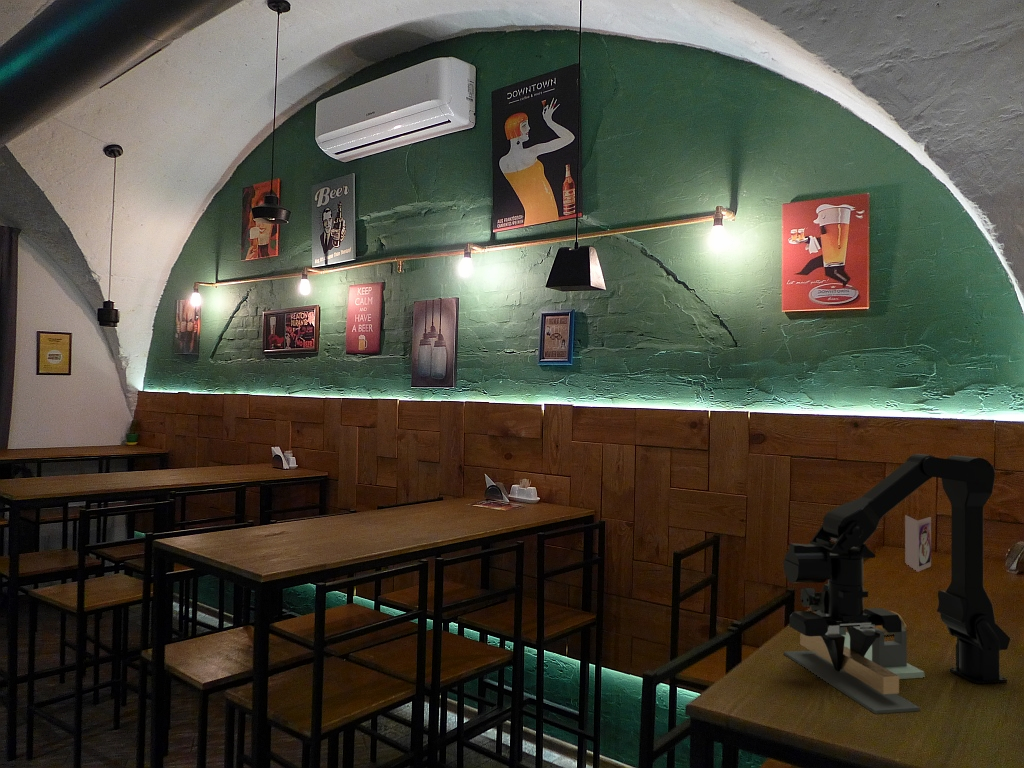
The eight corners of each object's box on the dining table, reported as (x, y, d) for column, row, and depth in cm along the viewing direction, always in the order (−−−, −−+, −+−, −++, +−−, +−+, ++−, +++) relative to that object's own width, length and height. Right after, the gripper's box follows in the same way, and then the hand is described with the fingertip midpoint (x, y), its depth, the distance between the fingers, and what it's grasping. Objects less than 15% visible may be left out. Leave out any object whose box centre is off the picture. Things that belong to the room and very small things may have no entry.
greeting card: (920, 572, 211) (920, 521, 211) (893, 568, 217) (893, 517, 217) (934, 566, 219) (934, 517, 219) (907, 562, 224) (907, 514, 225)
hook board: (924, 677, 130) (924, 635, 130) (884, 679, 129) (884, 637, 129) (836, 631, 155) (836, 596, 156) (802, 633, 154) (802, 597, 154)
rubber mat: (920, 710, 116) (920, 707, 116) (875, 713, 114) (875, 710, 114) (821, 652, 142) (821, 649, 142) (783, 654, 141) (783, 651, 141)
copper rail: (899, 693, 117) (899, 675, 117) (883, 694, 116) (883, 676, 116) (813, 643, 141) (813, 629, 141) (800, 644, 140) (800, 629, 140)
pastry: (893, 640, 151) (892, 622, 151) (859, 633, 156) (859, 615, 156) (908, 630, 157) (907, 613, 157) (875, 623, 162) (875, 606, 162)
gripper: (863, 570, 138) (863, 652, 138) (773, 572, 135) (773, 656, 135) (904, 584, 127) (904, 673, 127) (807, 588, 124) (807, 679, 124)
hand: (845, 670), depth 128 cm, fingers closed on copper rail, 3 cm apart
